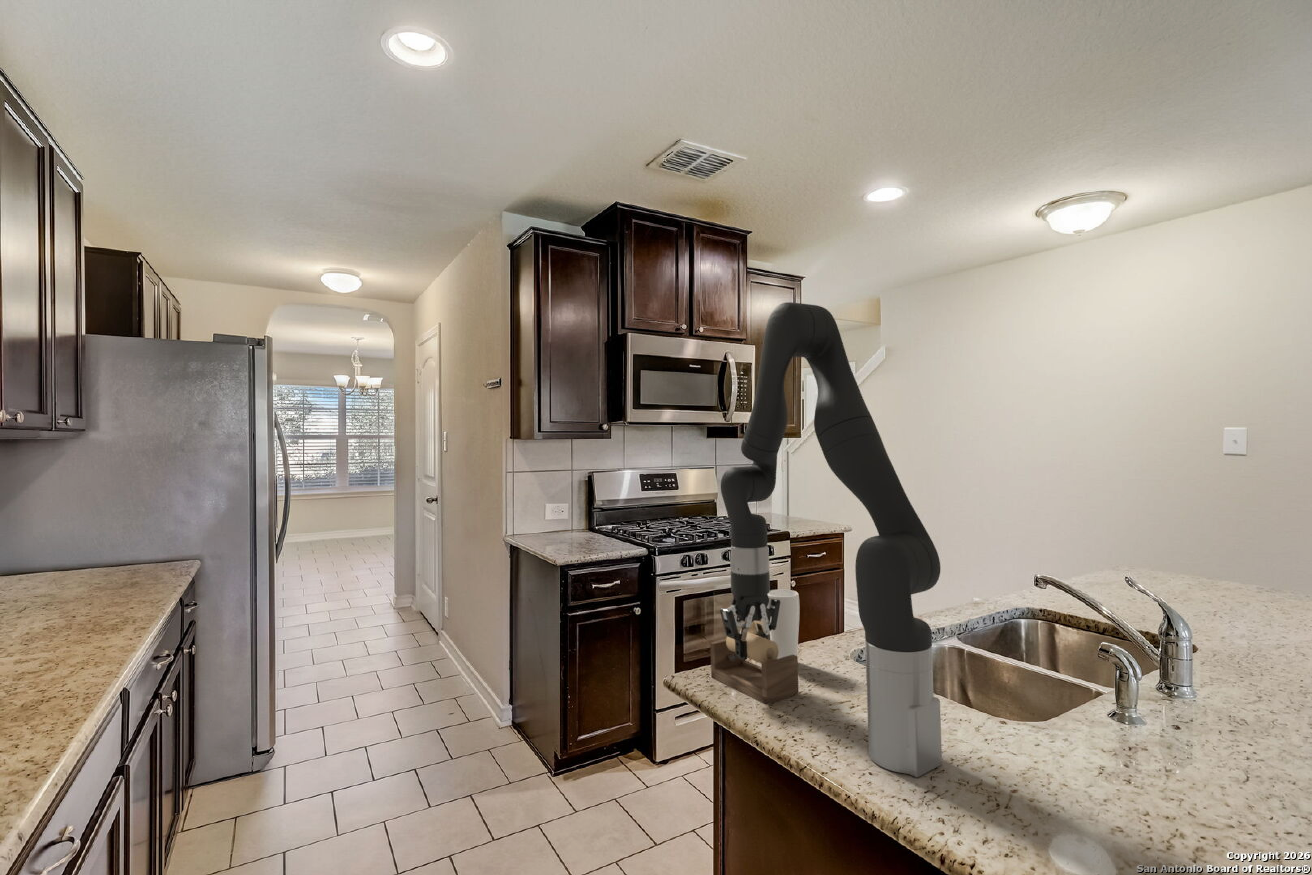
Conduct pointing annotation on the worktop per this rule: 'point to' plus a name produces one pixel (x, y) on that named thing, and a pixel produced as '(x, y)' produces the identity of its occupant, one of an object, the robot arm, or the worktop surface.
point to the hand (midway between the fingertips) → (752, 655)
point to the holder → (755, 674)
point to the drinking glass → (786, 622)
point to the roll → (757, 648)
